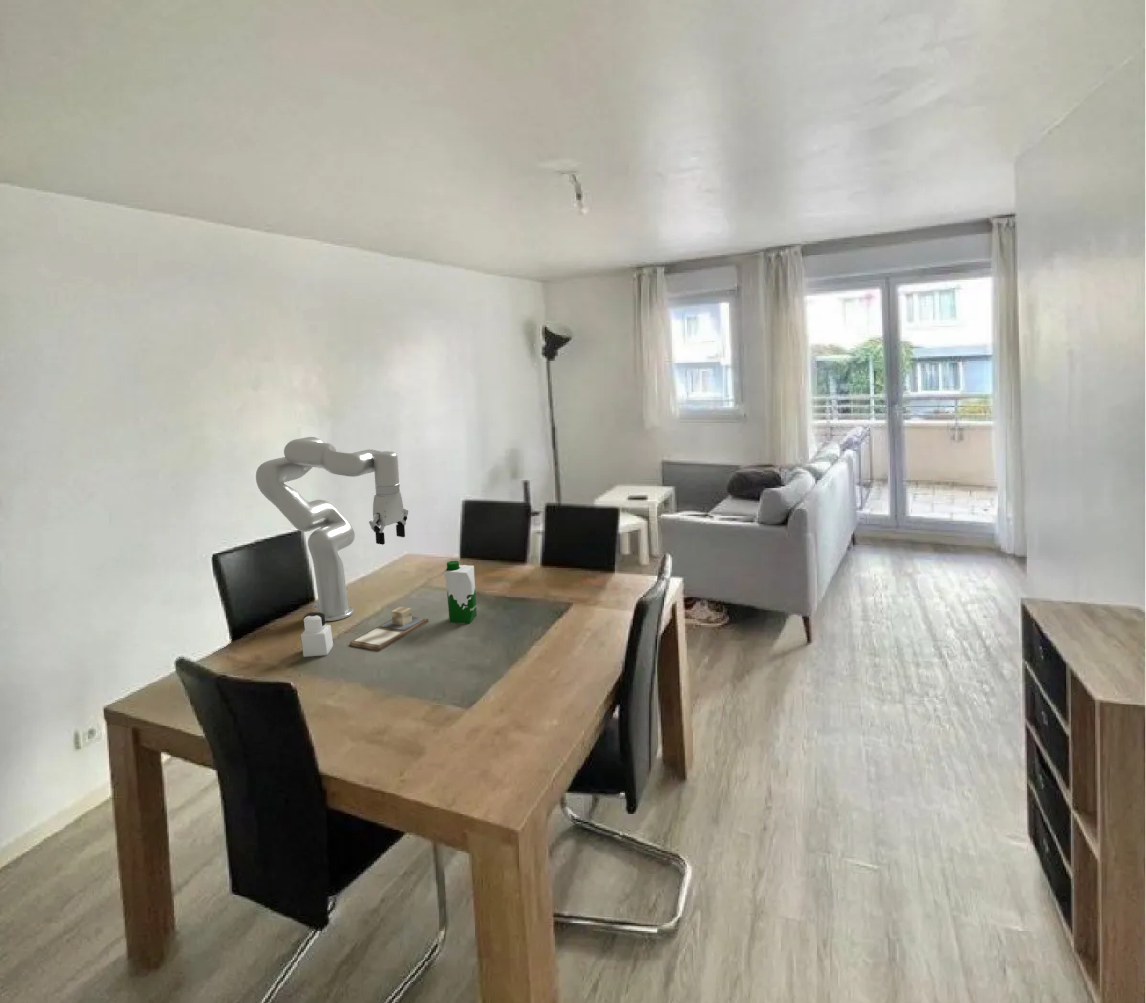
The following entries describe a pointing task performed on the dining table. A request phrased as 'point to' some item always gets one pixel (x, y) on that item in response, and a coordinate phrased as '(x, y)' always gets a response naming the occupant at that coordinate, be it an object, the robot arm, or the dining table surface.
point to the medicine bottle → (316, 635)
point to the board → (387, 634)
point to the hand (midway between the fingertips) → (390, 540)
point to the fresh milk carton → (460, 592)
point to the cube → (401, 616)
